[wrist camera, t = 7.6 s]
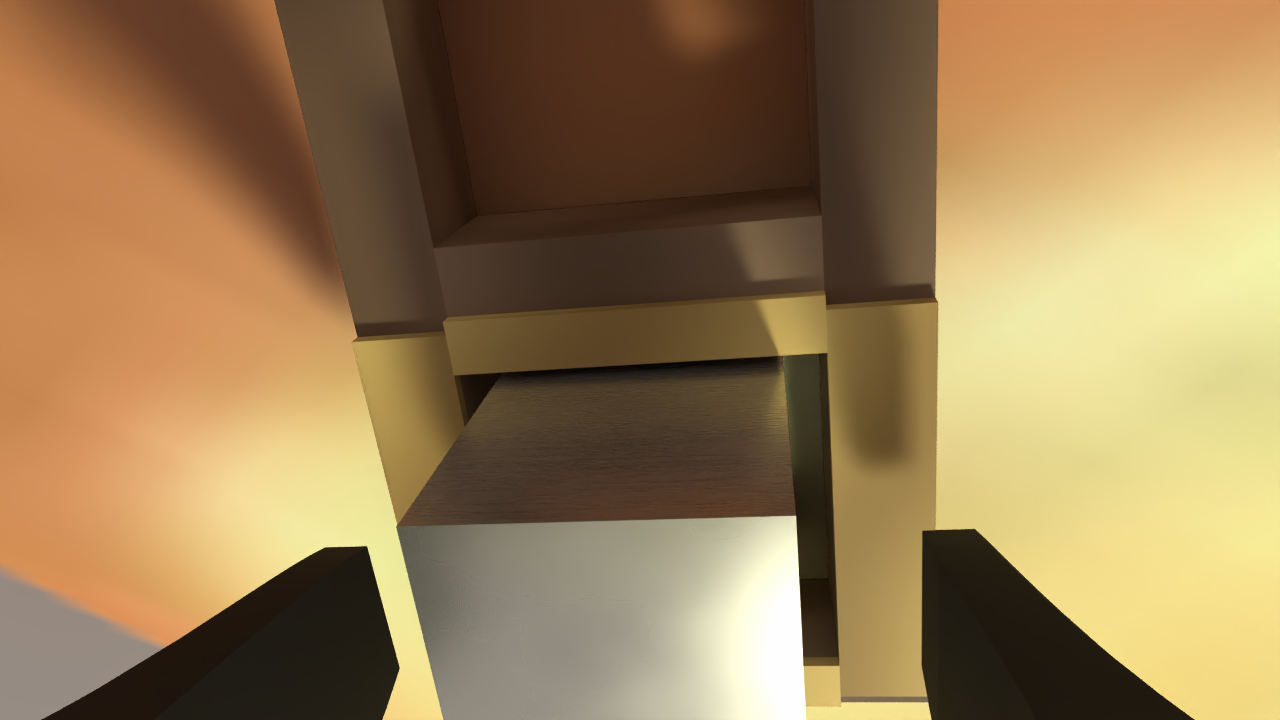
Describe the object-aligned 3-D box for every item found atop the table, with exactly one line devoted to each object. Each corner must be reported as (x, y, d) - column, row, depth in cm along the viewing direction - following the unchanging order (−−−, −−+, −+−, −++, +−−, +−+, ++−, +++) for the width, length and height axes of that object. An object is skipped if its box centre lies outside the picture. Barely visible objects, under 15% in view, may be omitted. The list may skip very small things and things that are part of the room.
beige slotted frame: (908, -1263, 8) (962, -1704, 6) (910, 619, 15) (933, 711, 13) (123, -998, 9) (-57, -1285, 7) (481, 624, 17) (443, 710, 15)
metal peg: (778, 311, 14) (795, 515, 8) (790, 527, 15) (810, 824, 10) (534, 326, 14) (396, 526, 9) (567, 532, 16) (467, 815, 10)
